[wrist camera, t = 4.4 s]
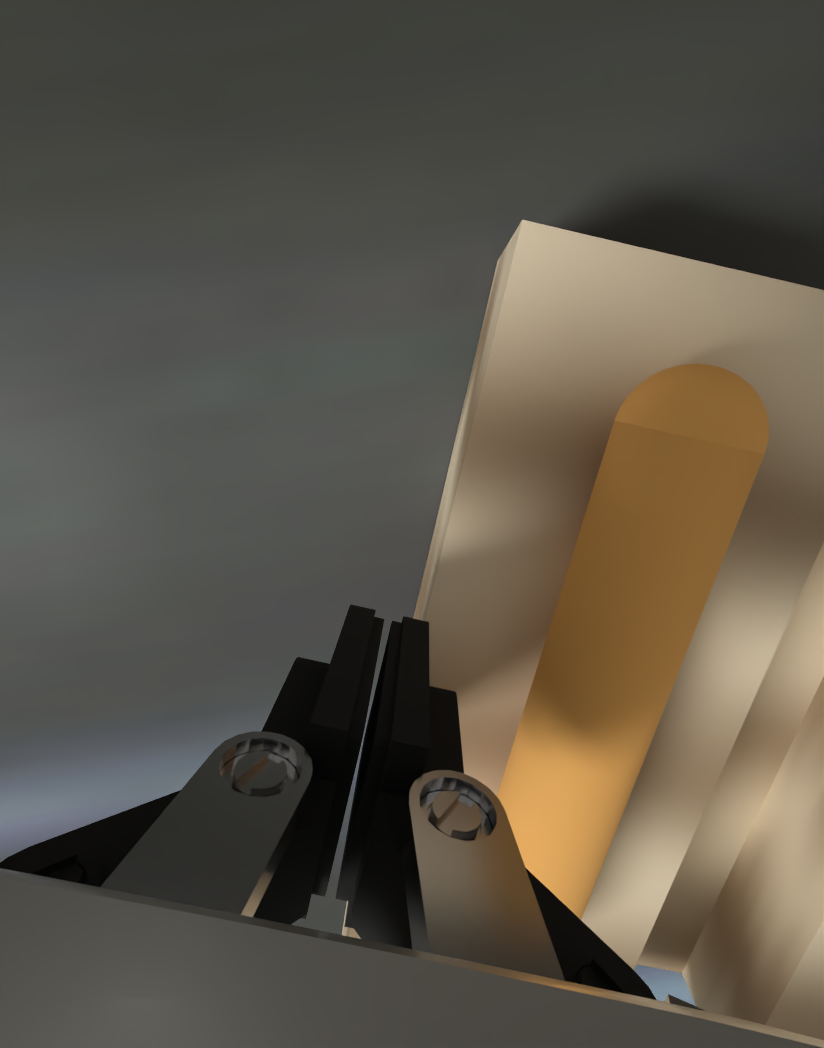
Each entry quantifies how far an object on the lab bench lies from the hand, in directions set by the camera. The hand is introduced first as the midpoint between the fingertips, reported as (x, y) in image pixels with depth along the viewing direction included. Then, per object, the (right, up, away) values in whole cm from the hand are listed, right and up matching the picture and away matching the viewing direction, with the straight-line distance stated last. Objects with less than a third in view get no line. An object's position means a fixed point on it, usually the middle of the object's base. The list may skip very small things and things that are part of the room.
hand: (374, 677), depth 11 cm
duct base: (+8, -1, +5) cm, 9 cm away
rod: (+4, -1, +1) cm, 4 cm away
